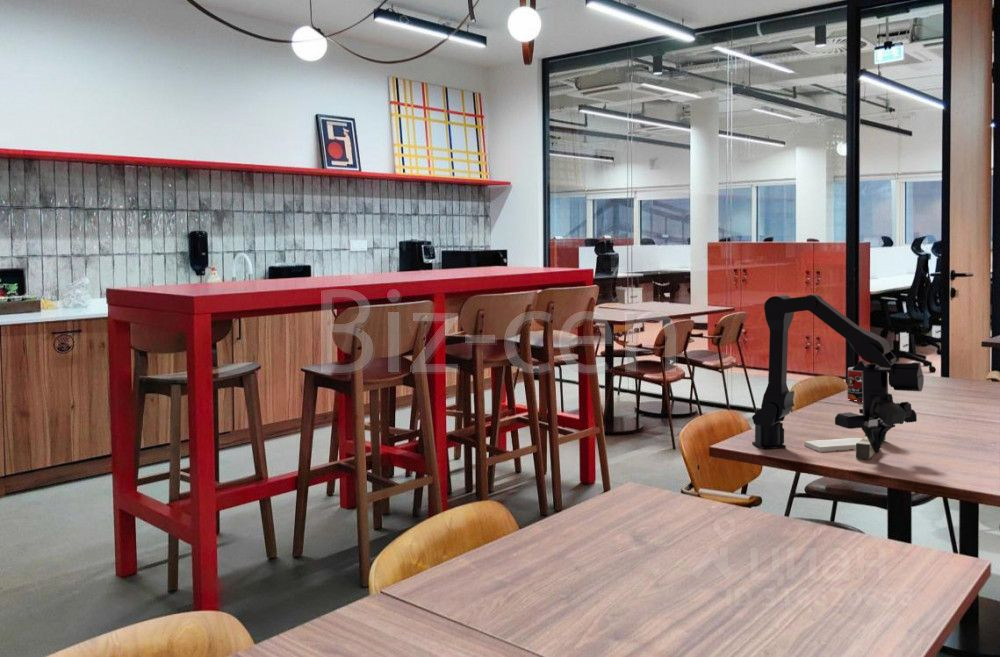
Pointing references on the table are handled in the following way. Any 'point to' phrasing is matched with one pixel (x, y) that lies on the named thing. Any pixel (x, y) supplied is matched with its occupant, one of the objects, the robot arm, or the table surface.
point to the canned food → (854, 384)
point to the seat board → (833, 444)
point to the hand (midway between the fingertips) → (876, 452)
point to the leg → (864, 449)
